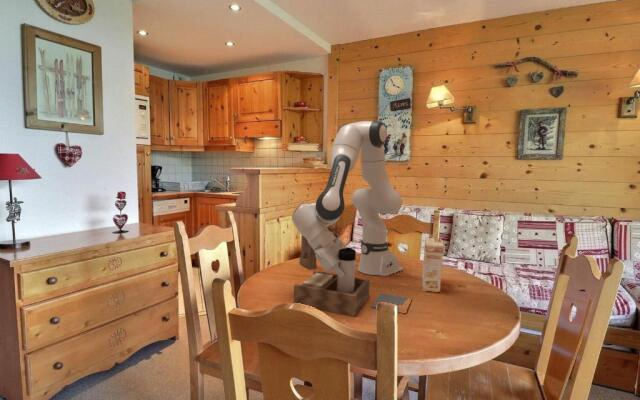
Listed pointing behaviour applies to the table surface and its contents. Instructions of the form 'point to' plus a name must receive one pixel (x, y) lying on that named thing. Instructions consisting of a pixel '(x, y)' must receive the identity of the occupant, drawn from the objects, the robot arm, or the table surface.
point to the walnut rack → (333, 296)
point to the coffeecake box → (432, 264)
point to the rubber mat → (390, 300)
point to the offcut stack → (318, 280)
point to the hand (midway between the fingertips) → (347, 272)
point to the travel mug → (346, 270)
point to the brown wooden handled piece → (307, 255)
